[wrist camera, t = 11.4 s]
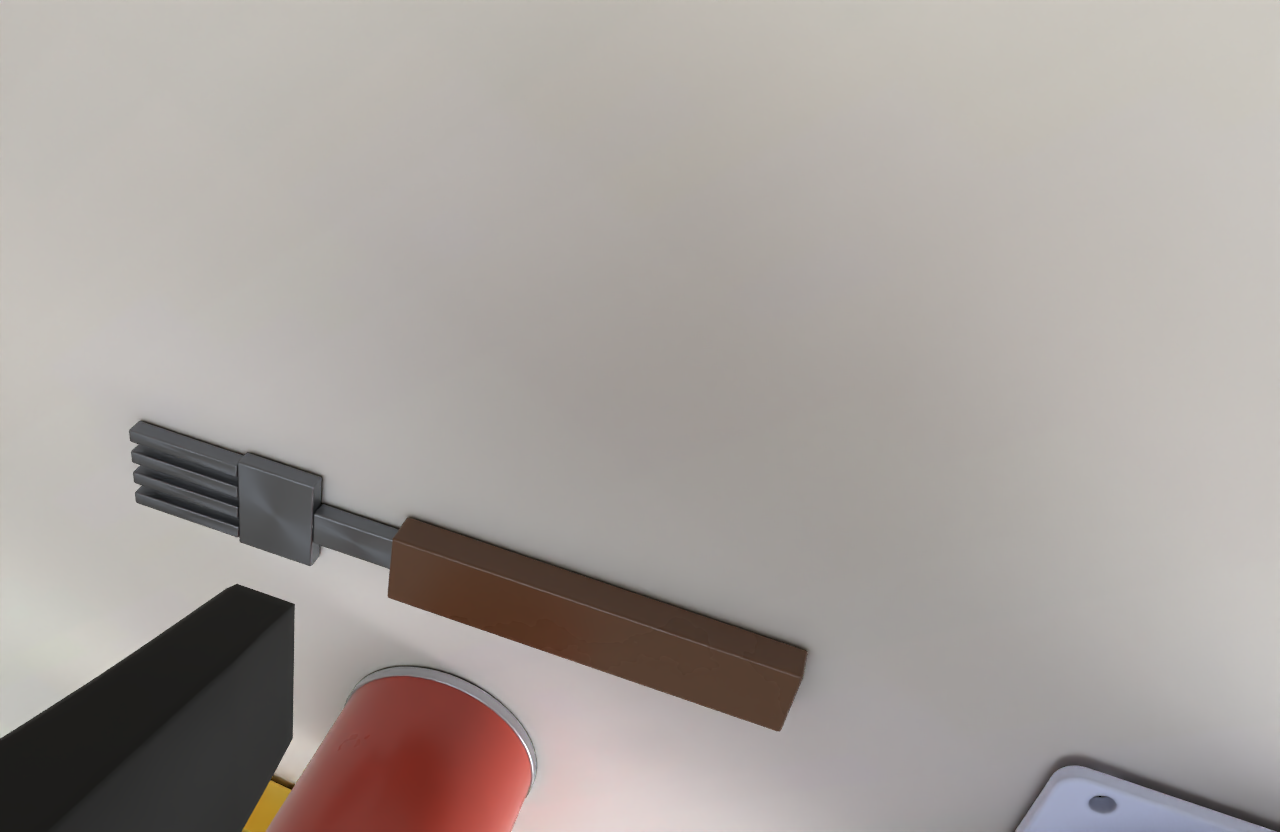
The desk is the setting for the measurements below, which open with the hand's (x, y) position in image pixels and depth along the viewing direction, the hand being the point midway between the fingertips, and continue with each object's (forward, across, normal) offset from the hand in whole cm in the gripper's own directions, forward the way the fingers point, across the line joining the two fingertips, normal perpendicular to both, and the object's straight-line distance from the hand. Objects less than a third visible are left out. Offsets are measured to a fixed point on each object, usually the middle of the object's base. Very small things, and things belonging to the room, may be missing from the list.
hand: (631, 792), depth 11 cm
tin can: (+10, +5, +15) cm, 19 cm away
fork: (+10, +5, +8) cm, 14 cm away
